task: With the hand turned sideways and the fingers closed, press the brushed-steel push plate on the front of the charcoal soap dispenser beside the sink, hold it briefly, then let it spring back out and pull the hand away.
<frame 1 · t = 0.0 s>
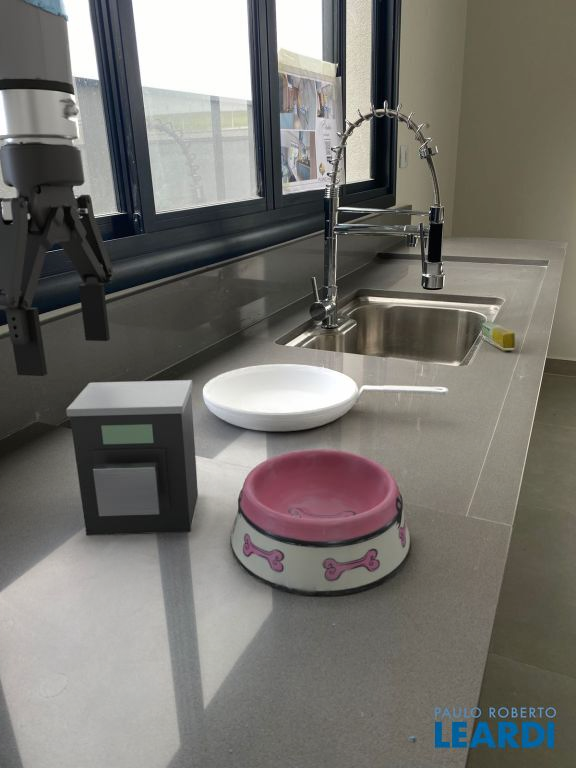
hand: (68, 355, 65), 18 cm above the counter, tool pointing down, fingers open, 13 cm apart
dog bowl: (319, 540, 63), on the counter
pan: (323, 411, 98), on the counter
dispenser: (145, 514, 68), on the counter
push plate: (127, 489, 60), point 6 cm above the counter, slide at 0.1 cm
medication box: (496, 346, 135), on the counter
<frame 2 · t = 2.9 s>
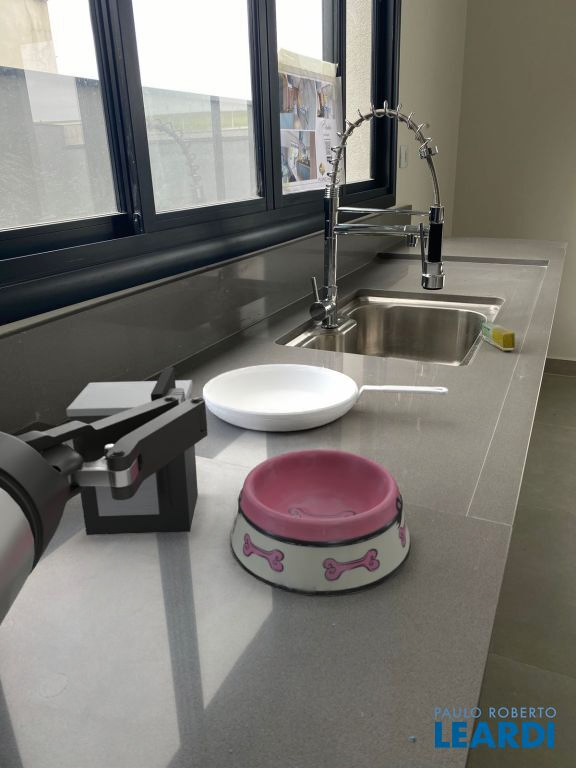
hand: (81, 388, 47), 20 cm above the counter, tool horizontal, fingers open, 13 cm apart
nothing on the counter moved.
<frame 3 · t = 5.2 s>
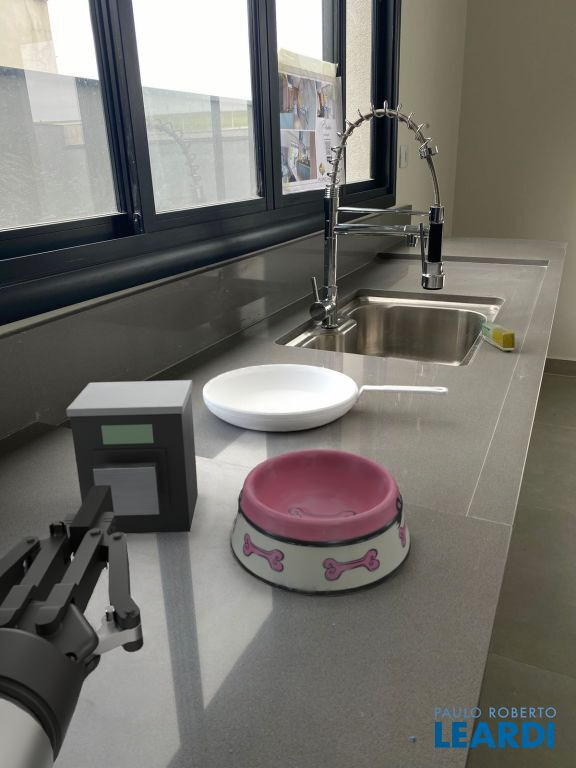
hand: (103, 499, 51), 10 cm above the counter, tool horizontal, fingers closed
nothing on the counter moved.
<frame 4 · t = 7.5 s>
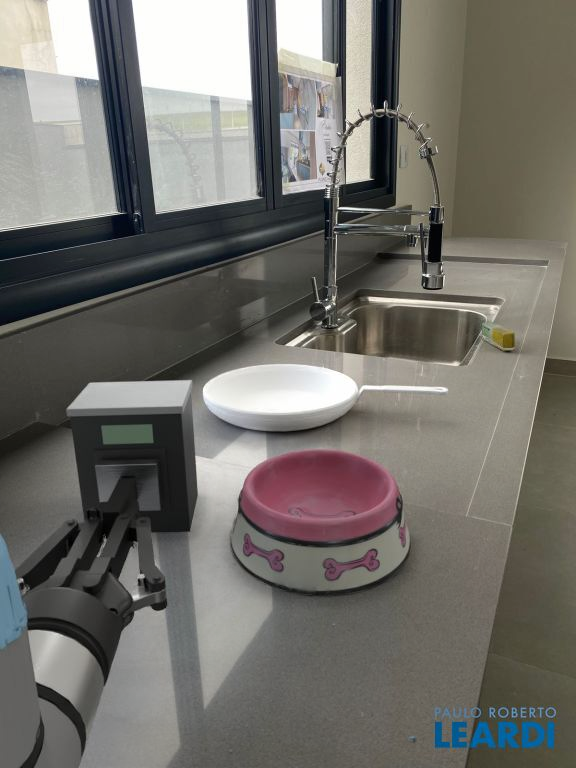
hand: (127, 490, 60), 6 cm above the counter, tool horizontal, fingers closed
push plate: (129, 485, 61), point 6 cm above the counter, slide at -0.7 cm, touching gripper
everything else where it was.
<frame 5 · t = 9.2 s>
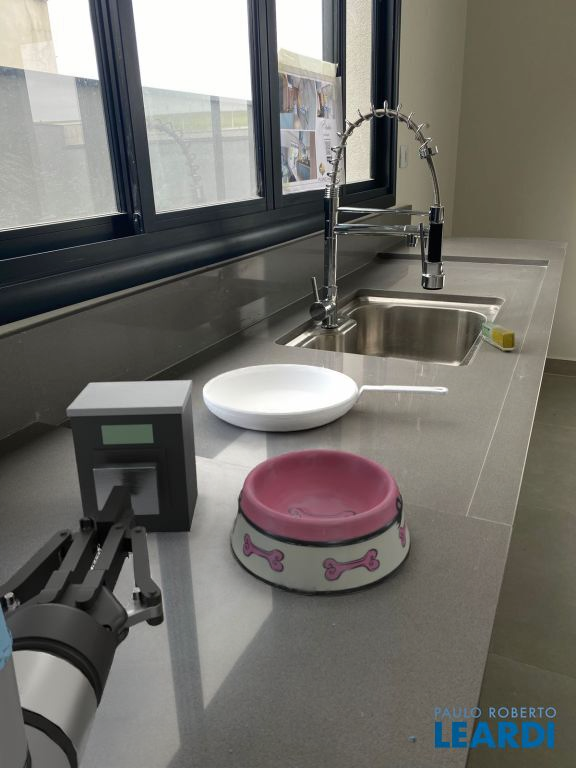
hand: (123, 498, 58), 7 cm above the counter, tool horizontal, fingers closed
push plate: (127, 489, 60), point 6 cm above the counter, slide at 0.1 cm
everything else where it was.
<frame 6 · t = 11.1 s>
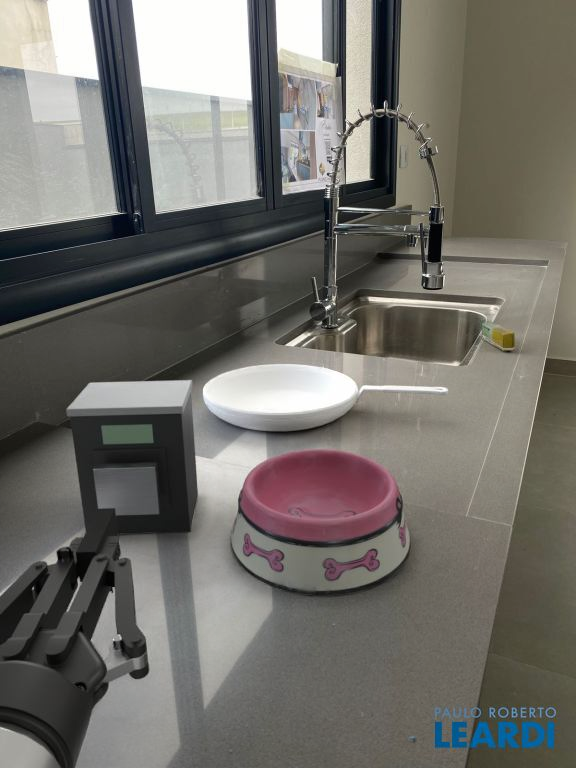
hand: (108, 522, 53), 7 cm above the counter, tool horizontal, fingers closed
nothing on the counter moved.
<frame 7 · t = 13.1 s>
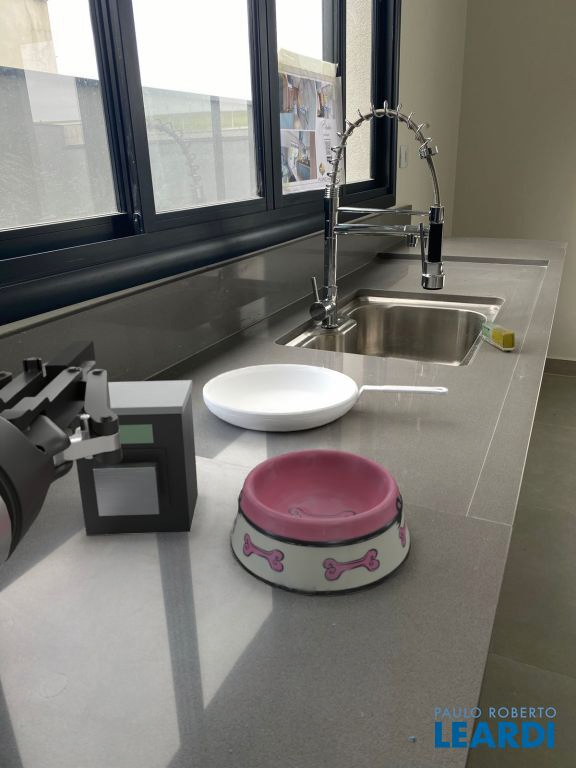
hand: (85, 357, 47), 22 cm above the counter, tool horizontal, fingers closed
nothing on the counter moved.
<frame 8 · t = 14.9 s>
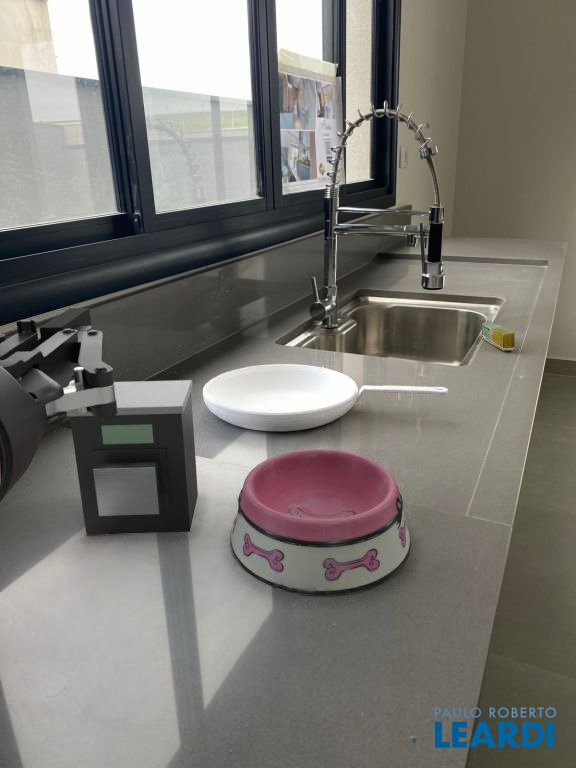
hand: (81, 325, 46), 25 cm above the counter, tool horizontal, fingers closed
nothing on the counter moved.
at the end: push plate pushed in 1.1 cm at the most during the clip, back to where it started at the end; push plate slide at 0.1 cm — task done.
